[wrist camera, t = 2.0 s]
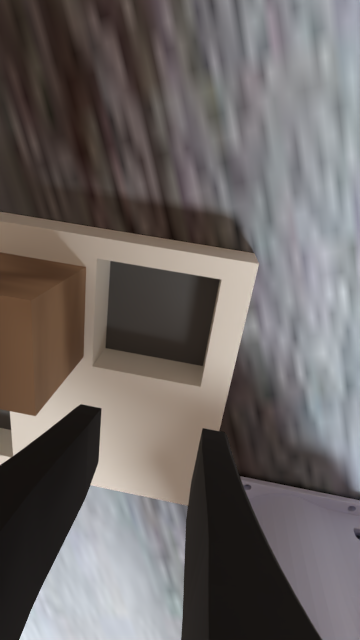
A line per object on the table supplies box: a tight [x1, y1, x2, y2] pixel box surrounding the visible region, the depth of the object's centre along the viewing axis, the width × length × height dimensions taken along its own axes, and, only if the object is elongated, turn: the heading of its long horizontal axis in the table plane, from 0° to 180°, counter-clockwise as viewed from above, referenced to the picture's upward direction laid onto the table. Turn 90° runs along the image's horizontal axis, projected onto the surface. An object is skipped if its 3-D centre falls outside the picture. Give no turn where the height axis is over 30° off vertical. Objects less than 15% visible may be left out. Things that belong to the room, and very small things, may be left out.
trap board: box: [0, 212, 259, 506], centre depth 19 cm, size 22×16×4 cm
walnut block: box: [0, 252, 86, 416], centre depth 15 cm, size 5×5×5 cm
